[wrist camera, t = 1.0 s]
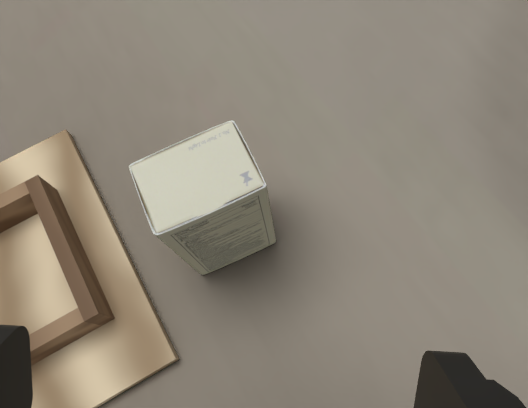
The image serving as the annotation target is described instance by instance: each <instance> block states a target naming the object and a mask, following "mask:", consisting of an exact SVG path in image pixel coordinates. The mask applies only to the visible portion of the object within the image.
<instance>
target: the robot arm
mask: <svg viewBox="0 0 528 408" xmlns="http://www.w3.org/2000/svg"><path fill="white" fill-rule="evenodd" d="M32 400H33V387H32V370H31V353H30V337H29V332H28V330H27V328H26V327H25V326H17V325H0V408H31V406H32ZM414 408H526V407H525V406H524V404H523V403H522V402H521V401H520V400H519V398H518V397H517V396H515V395H514V394H512V393H511V392H510V391H508V390H507V389H505V388H504V387H503V386H501V385H500V384H499V383H497V382H496V381H494V380H486V379H485V377H484V376H483V375H482V373H481V372H480V371H479V369H478V368H477V367H476V365H475V364H474V363H473V361H472V360H471V359H470V357H469V356H468V355H467V354H466V353H459V352H442V351H426V352H425V353H424V355H423V358H422V361H421V367H420V373H419V379H418V385H417V391H416V397H415V403H414Z"/></svg>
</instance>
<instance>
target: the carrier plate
mask: <svg viewBox="0 0 528 408" xmlns="http://www.w3.org/2000/svg"><path fill="white" fill-rule="evenodd" d="M0 325H17V326H25V327H26V328H27V330H28V332H29V337H30V353H31V370H32V387H33V400H32V406H31V408H97V407H99V406H100V405H102V404H104V403H106V402H107V401H109V400H111V399H112V398H114V397H116V396H117V395H119V394H121V393H123V392H124V391H126V390H128V389H129V388H131V387H133V386H134V385H136V384H138V383H140V382H141V381H143V380H145V379H146V378H148V377H150V376H152V375H153V374H155V373H157V372H158V371H160V370H162V369H163V368H165V367H167V366H169V365H170V364H172V363H174V362H175V361H177V360H179V358H178V356H177V354H176V352H175V349H174V347H173V345H172V343H171V341H170V339H169V337H168V335H167V333H166V331H165V329H164V327H163V325H162V322H161V320H160V318H159V316H158V314H157V312H156V310H155V308H154V306H153V304H152V302H151V300H150V298H149V296H148V293H147V291H146V289H145V287H144V285H143V283H142V281H141V279H140V277H139V275H138V273H137V271H136V269H135V266H134V264H133V262H132V260H131V258H130V256H129V254H128V252H127V250H126V248H125V246H124V244H123V242H122V239H121V237H120V235H119V233H118V231H117V229H116V227H115V225H114V223H113V221H112V219H111V217H110V215H109V213H108V210H107V208H106V206H105V204H104V202H103V200H102V198H101V196H100V194H99V192H98V190H97V188H96V186H95V183H94V181H93V179H92V177H91V175H90V173H89V171H88V169H87V167H86V165H85V163H84V161H83V159H82V156H81V154H80V152H79V150H78V148H77V146H76V144H75V142H74V140H73V138H72V136H71V134H70V133H69V132H68V131H67V130H64V131H62V132H60V133H58V134H56V135H54V136H52V137H50V138H48V139H46V140H44V141H42V142H40V143H38V144H36V145H34V146H32V147H30V148H28V149H26V150H24V151H22V152H20V153H18V154H16V155H14V156H12V157H10V158H8V159H7V160H5V161H3V162H1V163H0Z"/></svg>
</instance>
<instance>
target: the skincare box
mask: <svg viewBox="0 0 528 408" xmlns="http://www.w3.org/2000/svg"><path fill="white" fill-rule="evenodd" d="M129 169H130V172H131V175H132V178H133V181H134V184H135V186H136V189H137V192H138V195H139V198H140V200H141V203H142V206H143V209H144V212H145V214H146V217H147V219H148V222H149V224H150V227H151V230H152V232H153V234H154V235H155V236H157V237H158V238H159V239H160V240H161V241H162V242H164V243H165V244H166V245H167V246H168V247H169V248H171V249H172V250H173V251H174V252H175V253H176V254H177V255H179V256H180V257H181V258H182V259H183V260H184V261H186V262H187V263H188V264H189V265H190V266H191V267H193V268H194V269H195V270H196V271H197V272H198V273H199V274H201V275H205V274H207V273H210V272H212V271H214V270H217V269H219V268H222V267H224V266H226V265H228V264H231V263H233V262H235V261H238V260H240V259H242V258H244V257H246V256H249V255H251V254H253V253H255V252H257V251H259V250H262V249H264V248H266V247H268V246H270V245H272V244H274V243H275V242H276V237H275V232H274V226H273V220H272V214H271V208H270V202H269V197H268V190H267V185H266V183H265V181H264V179H263V176H262V174H261V172H260V170H259V168H258V166H257V163H256V161H255V159H254V157H253V155H252V153H251V151H250V149H249V147H248V145H247V143H246V141H245V139H244V137H243V136H242V134H241V132H240V130H239V128H238V126H237V125H236V123H235V122H234V121H233V120H231V121H228V122H225V123H223V124H220V125H218V126H215V127H212V128H210V129H208V130H205V131H203V132H200V133H198V134H196V135H194V136H191V137H189V138H187V139H184V140H182V141H180V142H178V143H176V144H173V145H171V146H169V147H167V148H164V149H162V150H160V151H158V152H156V153H154V154H151V155H149V156H147V157H145V158H142V159H140V160H138V161H136V162H134V163H132V164H130V165H129Z"/></svg>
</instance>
